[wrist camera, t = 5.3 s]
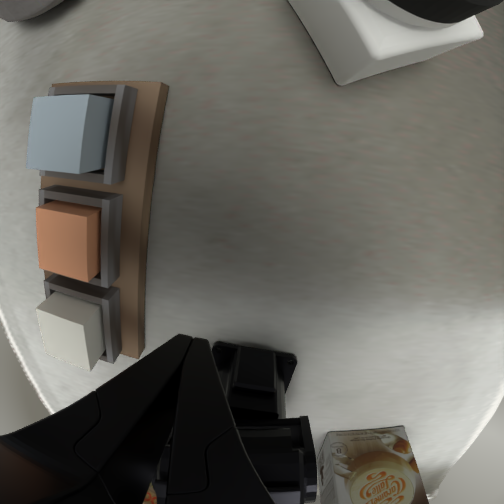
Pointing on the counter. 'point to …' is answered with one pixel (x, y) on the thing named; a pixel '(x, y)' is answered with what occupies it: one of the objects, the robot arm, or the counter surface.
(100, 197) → the button panel
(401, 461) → the coffee box
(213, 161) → the counter surface
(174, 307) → the counter surface
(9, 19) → the coffee pot
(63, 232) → the terracotta button
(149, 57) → the counter surface
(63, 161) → the slate button
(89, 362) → the white button
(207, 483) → the robot arm
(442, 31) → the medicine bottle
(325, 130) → the counter surface
